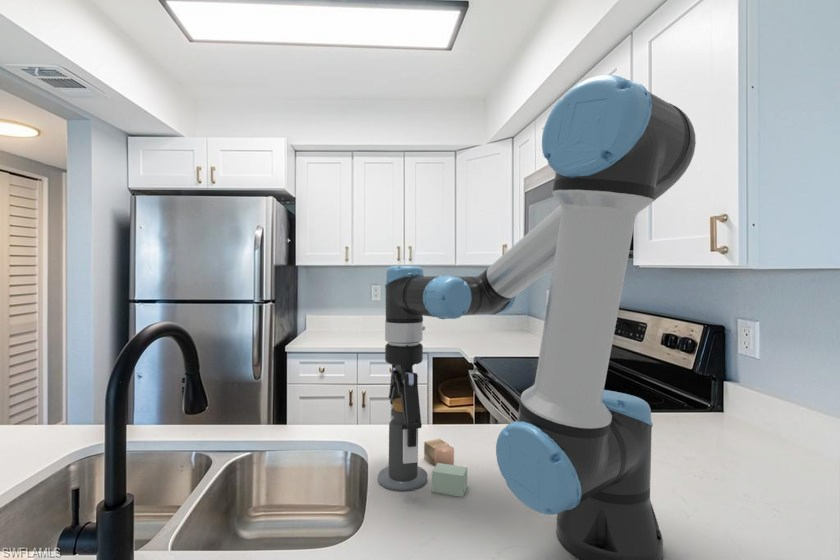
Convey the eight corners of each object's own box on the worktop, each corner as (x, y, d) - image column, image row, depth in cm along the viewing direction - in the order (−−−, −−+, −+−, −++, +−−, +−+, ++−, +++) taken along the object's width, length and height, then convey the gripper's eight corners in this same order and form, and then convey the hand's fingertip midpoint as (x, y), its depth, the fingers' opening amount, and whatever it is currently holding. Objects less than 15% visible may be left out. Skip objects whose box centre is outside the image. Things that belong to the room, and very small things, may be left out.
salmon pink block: (456, 476, 89) (456, 451, 89) (437, 478, 88) (437, 453, 88) (450, 467, 93) (450, 444, 93) (432, 469, 92) (432, 445, 92)
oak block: (448, 462, 95) (449, 444, 95) (433, 466, 93) (433, 447, 93) (439, 456, 99) (439, 438, 99) (424, 459, 97) (424, 441, 97)
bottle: (419, 469, 90) (419, 397, 90) (415, 482, 84) (416, 405, 84) (391, 467, 90) (392, 396, 90) (386, 480, 85) (386, 404, 84)
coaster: (433, 488, 84) (433, 484, 84) (381, 493, 81) (381, 489, 81) (421, 466, 93) (421, 462, 93) (374, 470, 91) (374, 466, 91)
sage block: (462, 497, 80) (463, 476, 80) (431, 492, 82) (432, 471, 82) (467, 487, 84) (467, 467, 84) (437, 482, 86) (437, 462, 86)
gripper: (439, 352, 76) (438, 473, 76) (409, 334, 100) (408, 425, 100) (397, 354, 74) (396, 478, 74) (376, 334, 98) (376, 428, 98)
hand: (403, 448), depth 87 cm, fingers open, 13 cm apart
